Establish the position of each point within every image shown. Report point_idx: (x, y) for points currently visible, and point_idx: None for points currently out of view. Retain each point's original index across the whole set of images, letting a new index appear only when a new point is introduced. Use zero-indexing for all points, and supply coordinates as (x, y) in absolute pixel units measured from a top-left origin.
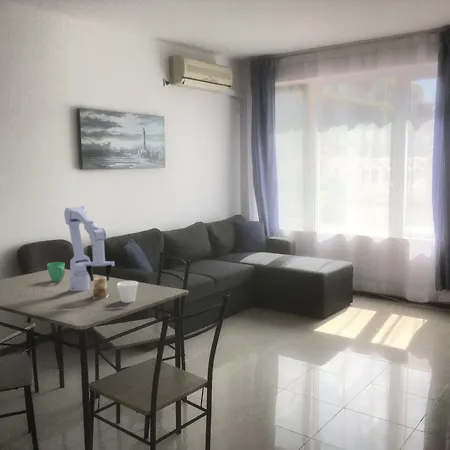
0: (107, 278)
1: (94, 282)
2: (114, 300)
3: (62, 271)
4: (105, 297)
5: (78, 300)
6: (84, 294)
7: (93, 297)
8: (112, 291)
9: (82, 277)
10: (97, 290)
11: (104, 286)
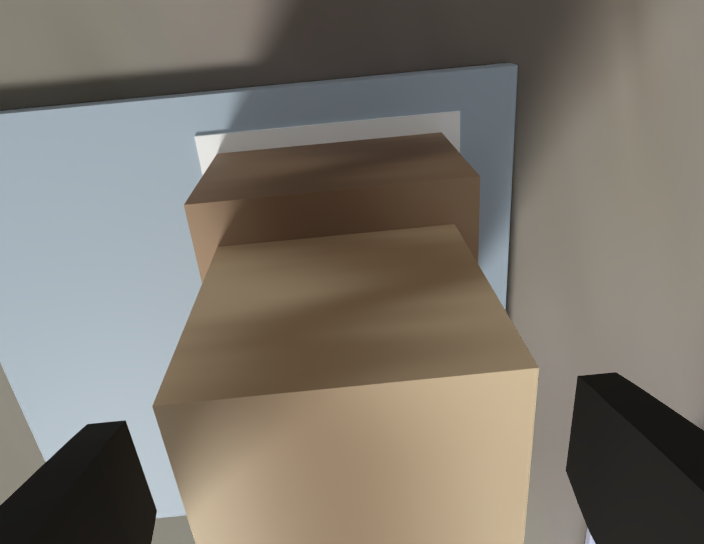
0: (56, 470)
1: (497, 309)
2: (12, 42)
3: None
4: (224, 154)
5: (698, 70)
6: None
7: None
8: None
9: None
10: (376, 182)
11: (211, 277)
